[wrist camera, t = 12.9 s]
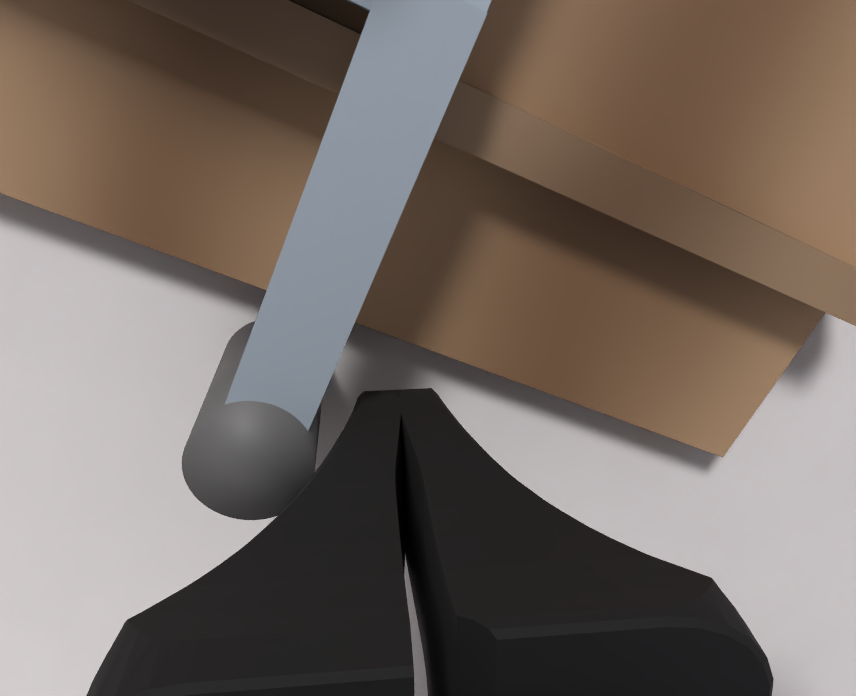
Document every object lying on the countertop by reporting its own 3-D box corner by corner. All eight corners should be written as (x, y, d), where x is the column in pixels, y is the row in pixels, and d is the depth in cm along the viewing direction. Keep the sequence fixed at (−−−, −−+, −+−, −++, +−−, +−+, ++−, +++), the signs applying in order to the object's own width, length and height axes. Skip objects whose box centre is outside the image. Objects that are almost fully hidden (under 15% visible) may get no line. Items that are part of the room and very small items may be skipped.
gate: (488, -12, 10) (537, -22, 7) (305, 420, 13) (289, 533, 10) (-233, -384, 8) (-564, -606, 5) (-266, 235, 11) (-491, 315, 8)
